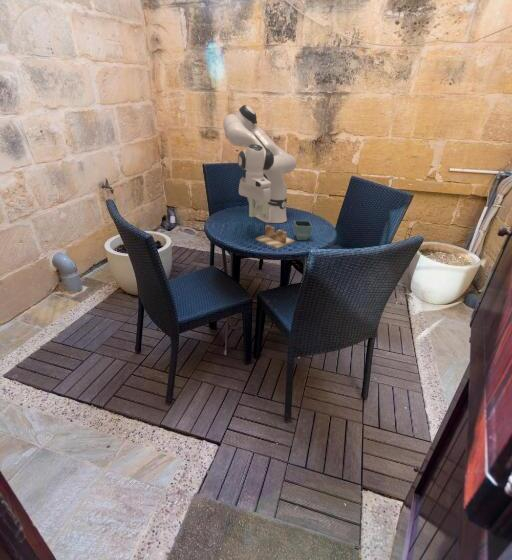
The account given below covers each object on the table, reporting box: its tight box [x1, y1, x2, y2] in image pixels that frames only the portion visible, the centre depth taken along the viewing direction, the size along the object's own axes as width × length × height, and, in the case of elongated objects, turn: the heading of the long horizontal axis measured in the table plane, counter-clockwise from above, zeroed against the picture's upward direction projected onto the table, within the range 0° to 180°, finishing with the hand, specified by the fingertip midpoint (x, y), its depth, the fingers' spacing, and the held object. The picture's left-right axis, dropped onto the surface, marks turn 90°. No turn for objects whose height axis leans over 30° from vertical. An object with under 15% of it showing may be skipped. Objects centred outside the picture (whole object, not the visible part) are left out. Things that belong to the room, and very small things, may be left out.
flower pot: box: [293, 220, 313, 241], centre depth 175 cm, size 9×9×9 cm
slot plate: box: [248, 197, 268, 218], centre depth 168 cm, size 2×12×10 cm, turn 134°
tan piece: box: [255, 224, 295, 250], centre depth 171 cm, size 16×14×7 cm
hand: (253, 207), depth 166 cm, fingers closed on slot plate, 2 cm apart
